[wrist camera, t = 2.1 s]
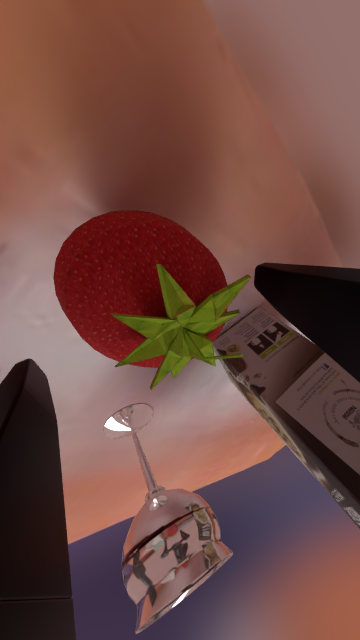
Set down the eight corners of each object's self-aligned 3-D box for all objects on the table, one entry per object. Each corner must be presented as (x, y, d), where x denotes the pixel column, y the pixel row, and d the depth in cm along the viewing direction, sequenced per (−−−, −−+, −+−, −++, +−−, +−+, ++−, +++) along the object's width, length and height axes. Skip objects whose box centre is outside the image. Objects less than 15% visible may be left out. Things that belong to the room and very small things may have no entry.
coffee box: (208, 343, 21) (410, 562, 10) (259, 304, 22) (510, 467, 10) (230, 383, 28) (369, 546, 16) (270, 352, 28) (433, 487, 17)
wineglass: (170, 413, 25) (241, 549, 16) (118, 451, 24) (164, 616, 15) (142, 386, 20) (221, 555, 12) (77, 432, 19) (108, 652, 11)
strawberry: (88, 158, 10) (211, 152, 3) (189, 253, 15) (325, 336, 8) (23, 263, 11) (-5, 454, 4) (138, 320, 16) (219, 448, 9)
